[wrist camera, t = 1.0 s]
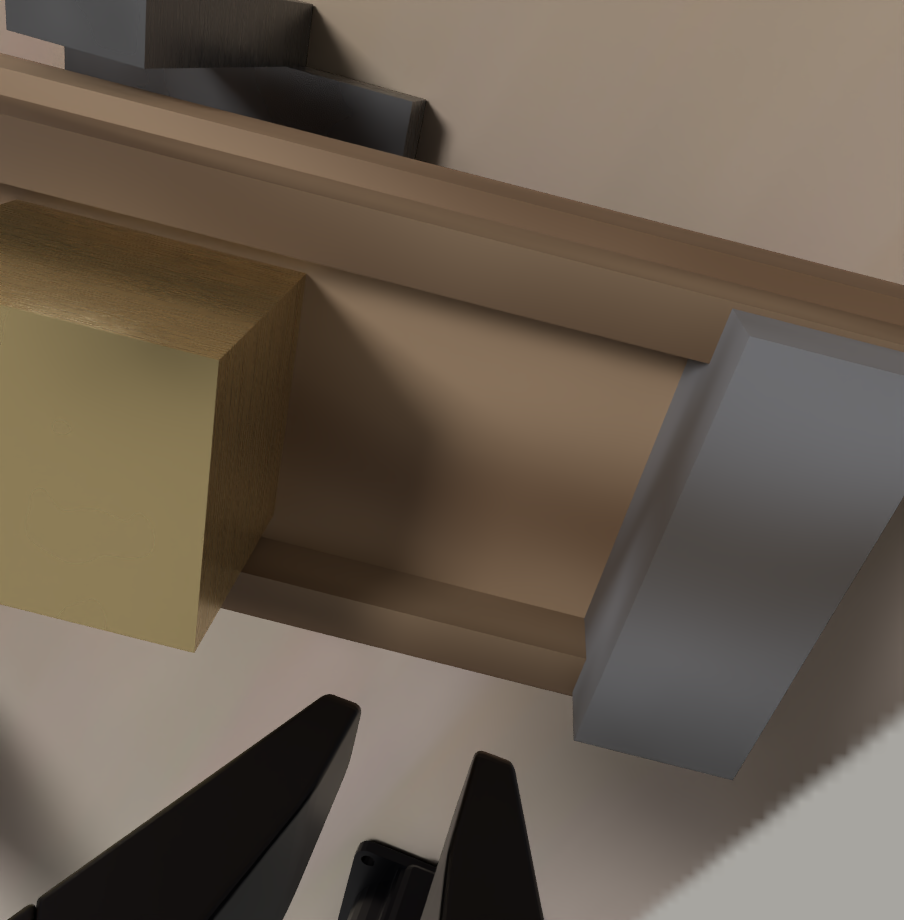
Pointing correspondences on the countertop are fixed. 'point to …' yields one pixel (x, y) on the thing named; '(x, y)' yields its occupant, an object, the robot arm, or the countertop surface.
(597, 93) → the countertop surface
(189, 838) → the robot arm
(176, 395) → the block
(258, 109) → the trestle
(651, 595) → the beam
